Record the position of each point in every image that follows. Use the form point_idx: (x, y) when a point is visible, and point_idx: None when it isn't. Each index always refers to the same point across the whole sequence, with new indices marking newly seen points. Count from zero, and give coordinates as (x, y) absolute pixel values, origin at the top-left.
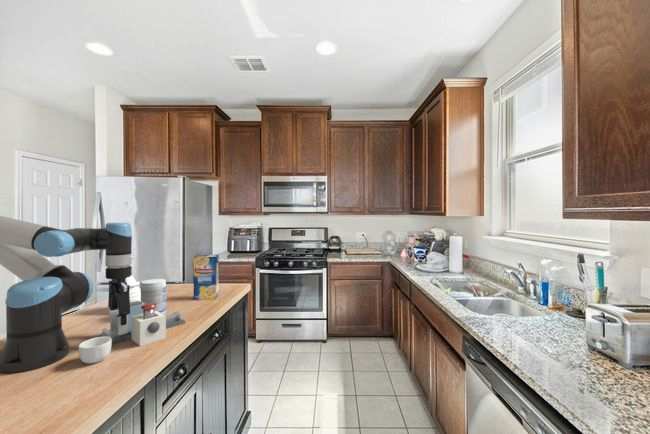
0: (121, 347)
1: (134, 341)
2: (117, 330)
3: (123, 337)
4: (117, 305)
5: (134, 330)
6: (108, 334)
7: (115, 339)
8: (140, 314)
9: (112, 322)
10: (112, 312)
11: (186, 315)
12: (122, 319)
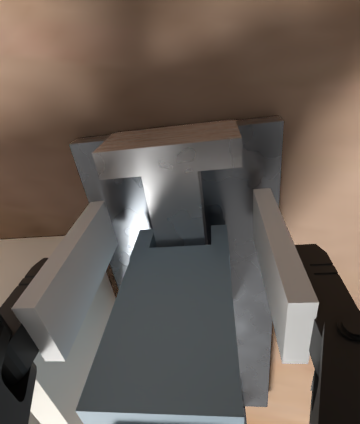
0: (3, 179)
1: (49, 237)
2: (152, 215)
3: None
4: (312, 412)
5: (15, 280)
6: (95, 157)
7: (91, 177)
8: (43, 393)
9: (262, 227)
10: (284, 300)
11: (248, 417)
12: (8, 302)
